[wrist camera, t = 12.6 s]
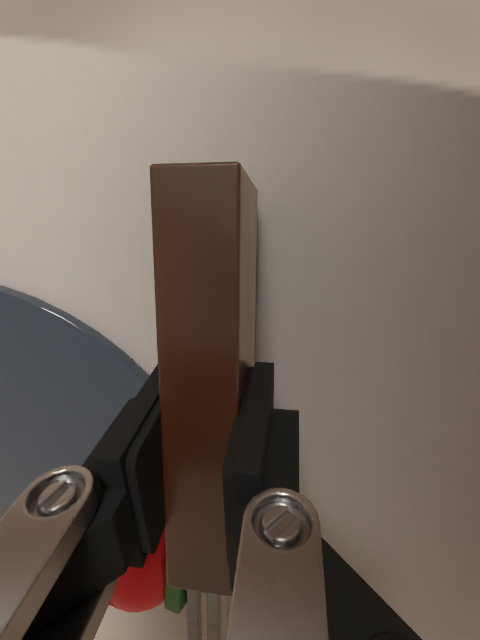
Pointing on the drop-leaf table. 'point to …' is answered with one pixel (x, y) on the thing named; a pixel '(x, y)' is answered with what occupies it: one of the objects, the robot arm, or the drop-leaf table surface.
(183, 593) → the red toy pepper
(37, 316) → the plate
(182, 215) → the fork
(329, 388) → the drop-leaf table surface
